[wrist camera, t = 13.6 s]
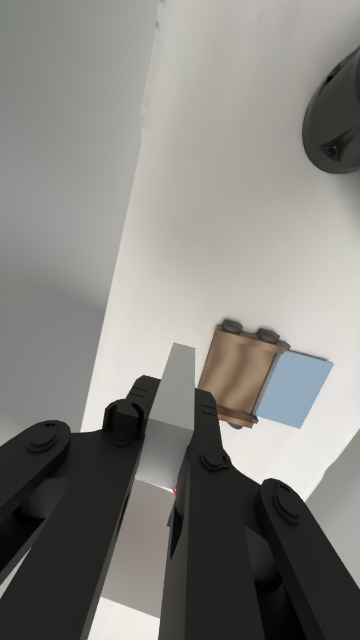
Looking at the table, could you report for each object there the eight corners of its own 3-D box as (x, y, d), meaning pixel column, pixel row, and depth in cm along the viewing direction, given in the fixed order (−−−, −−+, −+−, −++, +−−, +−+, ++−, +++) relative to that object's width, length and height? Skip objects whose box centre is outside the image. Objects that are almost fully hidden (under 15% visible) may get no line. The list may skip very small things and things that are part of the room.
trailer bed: (192, 405, 47) (191, 418, 43) (219, 318, 41) (221, 323, 37) (251, 421, 47) (257, 436, 43) (288, 335, 41) (299, 343, 36)
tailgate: (251, 414, 45) (300, 429, 44) (278, 349, 40) (334, 364, 39) (250, 410, 46) (297, 424, 45) (276, 347, 41) (330, 361, 40)
